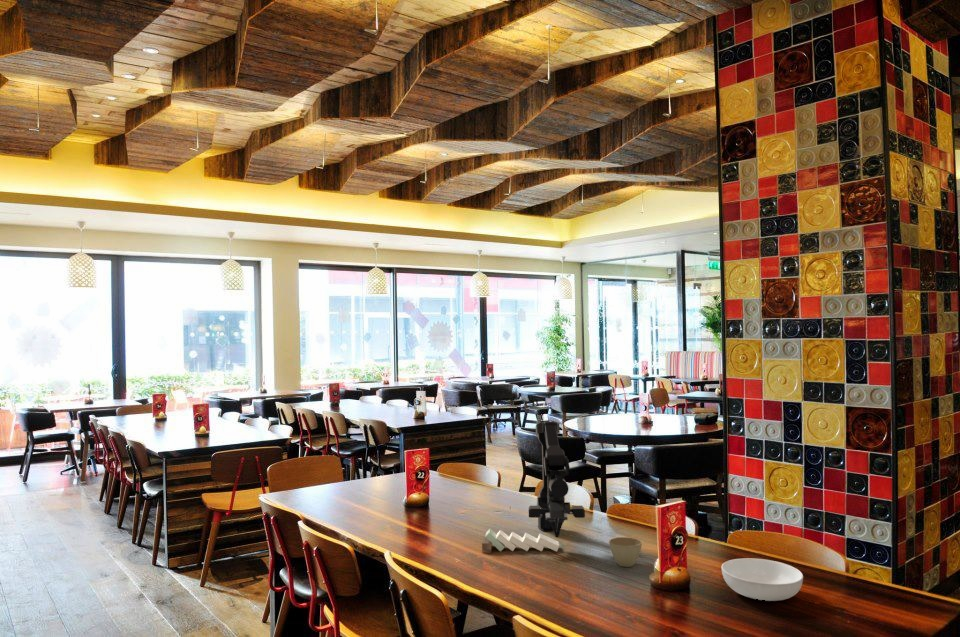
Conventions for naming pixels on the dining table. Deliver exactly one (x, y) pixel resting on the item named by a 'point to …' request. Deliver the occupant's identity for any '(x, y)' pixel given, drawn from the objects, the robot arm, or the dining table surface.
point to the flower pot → (625, 550)
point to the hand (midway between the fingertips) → (556, 537)
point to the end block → (486, 545)
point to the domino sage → (494, 540)
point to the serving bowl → (762, 578)
